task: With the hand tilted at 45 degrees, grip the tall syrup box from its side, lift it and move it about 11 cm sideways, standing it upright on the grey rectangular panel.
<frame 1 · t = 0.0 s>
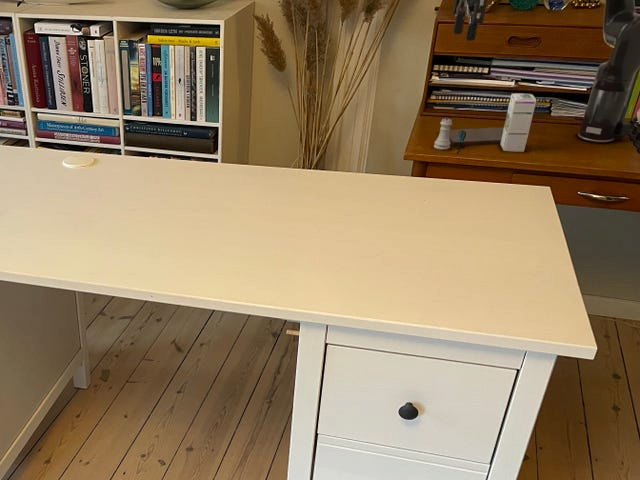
hand: (463, 37, 196), 29 cm above the table, tool pointing down, fingers open, 8 cm apart
rook chess piece: (441, 148, 211), on the table
syrup box: (511, 149, 209), on the table
grey rectangular panel: (479, 137, 217), on the table
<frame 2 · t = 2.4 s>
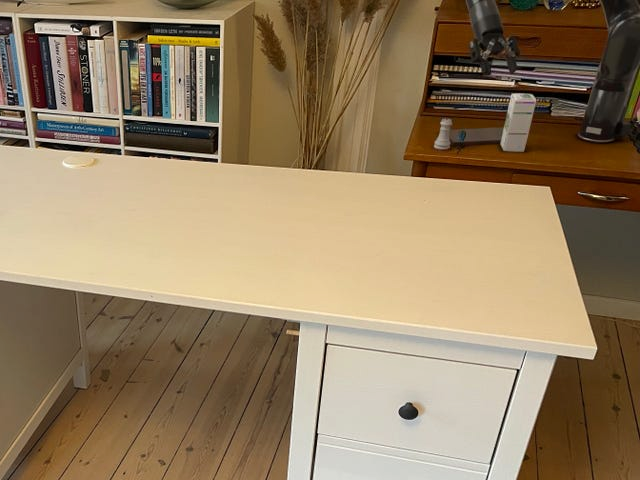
hand: (500, 73, 208), 18 cm above the table, tool tilted 45°, fingers open, 8 cm apart
nothing on the table moved.
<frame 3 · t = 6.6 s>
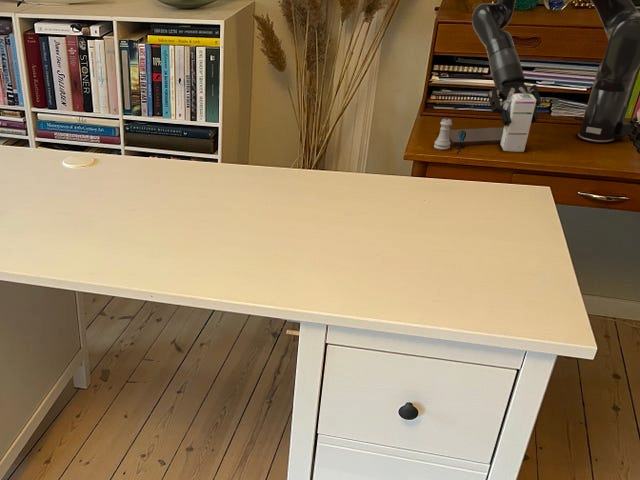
hand: (521, 123, 203), 8 cm above the table, tool tilted 45°, fingers closed on syrup box, 7 cm apart
syrup box: (511, 149, 209), on the table, touching gripper
everything else where it was.
when the fingers open (9 cm above the table, at t = 15.0 s): syrup box stays where it is, resting on grey rectangular panel.
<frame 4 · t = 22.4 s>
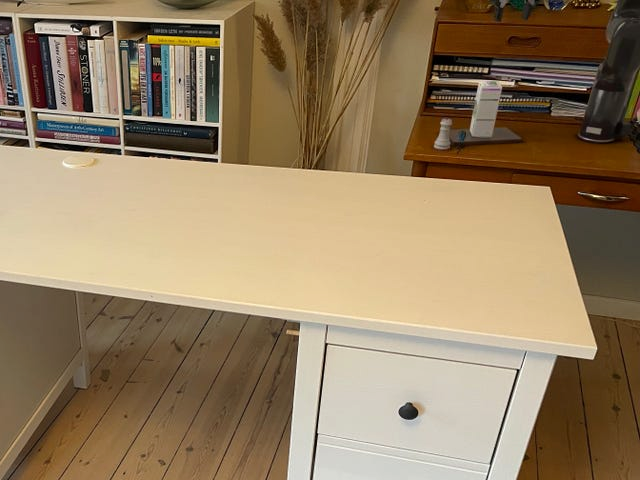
hand: (511, 20, 207), 30 cm above the table, tool pointing down, fingers open, 8 cm apart
syrup box: (479, 135, 217), point 1 cm above the table, touching grey rectangular panel
everything else where it was.
at the end: syrup box inside the target area (0.2 cm from its centre), point 0.8 cm above the table; syrup box tilted 0°; the gripper is holding nothing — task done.
